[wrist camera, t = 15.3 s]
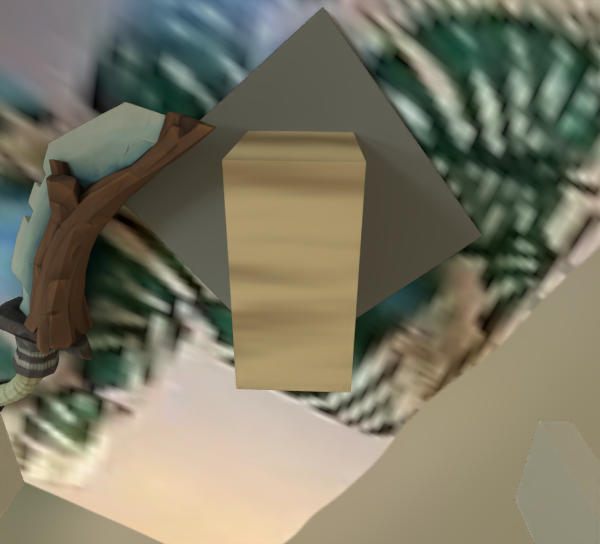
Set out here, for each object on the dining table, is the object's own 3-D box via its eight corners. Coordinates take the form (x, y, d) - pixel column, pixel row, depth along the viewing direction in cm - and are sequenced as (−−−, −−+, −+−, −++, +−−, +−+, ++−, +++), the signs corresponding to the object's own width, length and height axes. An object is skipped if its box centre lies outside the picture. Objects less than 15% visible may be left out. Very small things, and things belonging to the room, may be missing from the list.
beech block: (350, 392, 24) (366, 162, 19) (236, 388, 25) (222, 160, 20) (343, 314, 32) (353, 132, 27) (255, 312, 32) (248, 130, 27)
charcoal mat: (285, 361, 34) (284, 365, 34) (120, 194, 29) (117, 196, 29) (479, 232, 29) (482, 235, 29) (322, 7, 24) (322, 6, 24)
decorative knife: (-32, 383, 38) (97, 31, 26) (60, 440, 38) (230, 123, 26) (-83, 419, 34) (40, 22, 22) (20, 483, 34) (199, 131, 22)
